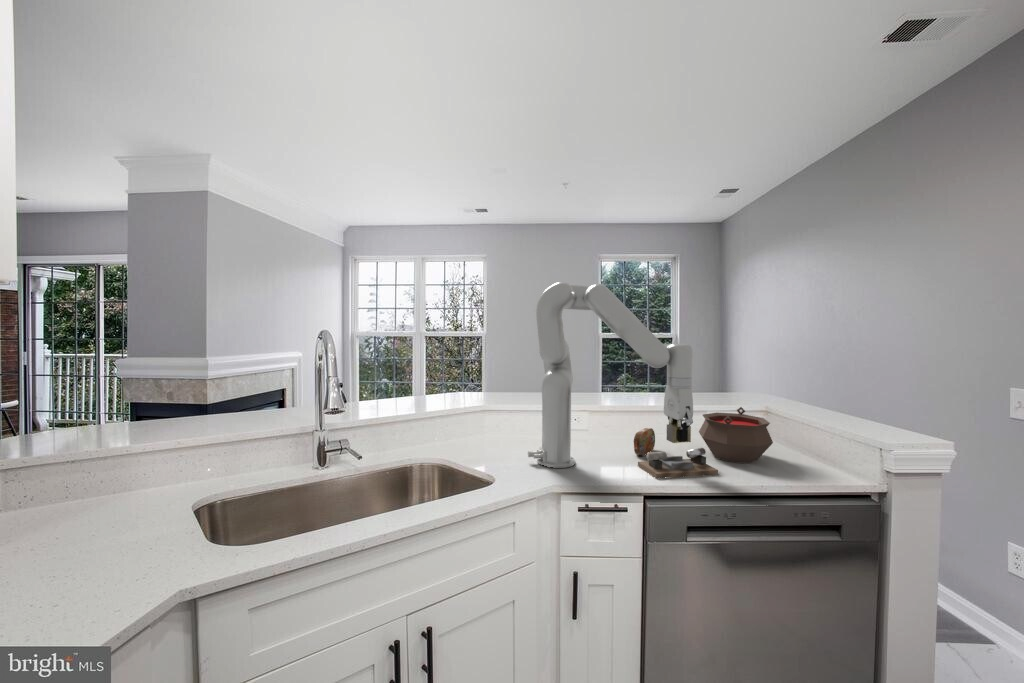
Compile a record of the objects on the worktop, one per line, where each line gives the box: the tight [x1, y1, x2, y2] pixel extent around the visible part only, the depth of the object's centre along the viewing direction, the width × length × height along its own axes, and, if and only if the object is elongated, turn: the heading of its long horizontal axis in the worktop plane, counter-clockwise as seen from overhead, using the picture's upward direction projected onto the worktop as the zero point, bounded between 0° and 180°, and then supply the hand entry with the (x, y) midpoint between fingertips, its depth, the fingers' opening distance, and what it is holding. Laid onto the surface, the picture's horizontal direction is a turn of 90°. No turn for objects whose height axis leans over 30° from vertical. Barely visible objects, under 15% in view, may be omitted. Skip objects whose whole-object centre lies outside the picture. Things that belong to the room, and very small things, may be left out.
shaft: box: [686, 447, 707, 465], centre depth 147 cm, size 6×4×5 cm, turn 121°
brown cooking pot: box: [698, 406, 774, 464], centre depth 160 cm, size 24×24×16 cm
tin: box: [633, 427, 656, 457], centre depth 164 cm, size 15×3×8 cm, turn 143°
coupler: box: [666, 423, 692, 444], centre depth 145 cm, size 6×4×5 cm, turn 101°
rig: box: [637, 451, 719, 479], centre depth 145 cm, size 21×12×6 cm, turn 101°
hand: (678, 439), depth 145 cm, fingers closed on coupler, 4 cm apart
